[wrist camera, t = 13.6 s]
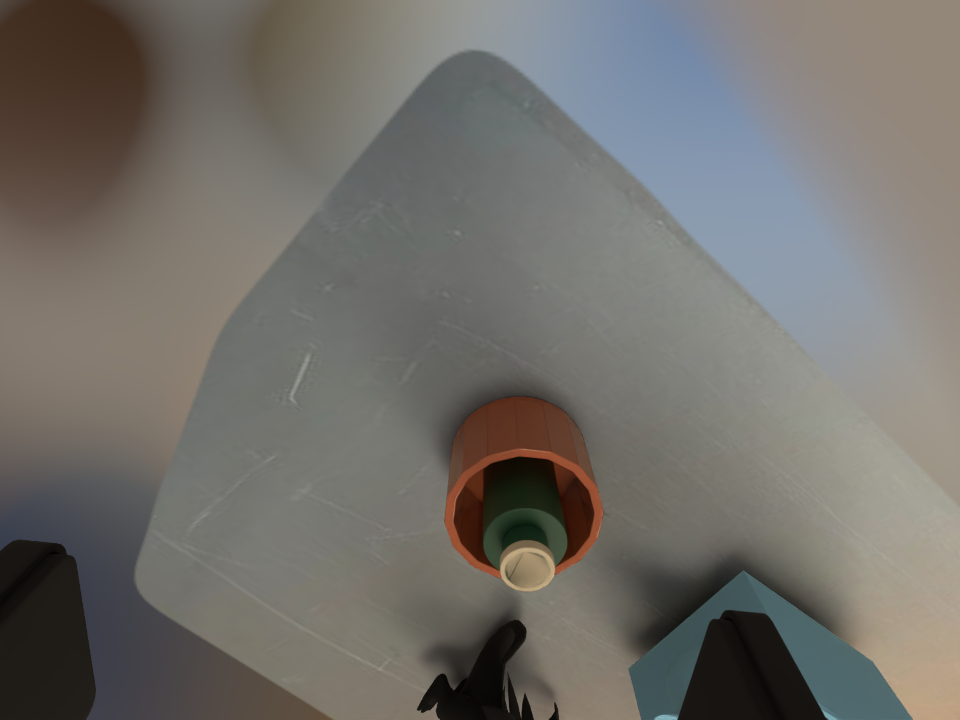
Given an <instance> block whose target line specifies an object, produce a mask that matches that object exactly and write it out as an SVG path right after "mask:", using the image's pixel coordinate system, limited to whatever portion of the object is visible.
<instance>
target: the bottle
mask: <svg viewBox="0 0 960 720" xmlns="http://www.w3.org/2000/svg"><path fill="white" fill-rule="evenodd" d="M567 543H568V541H567V533H566V528H565V523H564V517H563V512H562V506H561V501H560V496H559V490H558V485H557V480H556V474H555V469H554V463H553V461H551V460H549V459H541V458H531V457H522V456H518V457H514V458H510V459H506V460H502V461H498V462H493V463H491V464H489V465H488V466H486V467H485V468H483V549H484V552H485V555H486V557H487V558H488V560H489V561H490V562H491V564H492V565H493V566H494V567H496V568H497V569H498V570H500V574H501V577H502V579H503V580H504V582H505V583H506V584H507V585H508V586H510V587H512V588H513V589H516V590H519V591H535V590H538V589H541V588H543V587H544V586H546V585H547V584H548V583H549V582H550V581H551V579H552V578H553V576H554V573H555V566H556V565H557V564H558V563H559V562H560V561H561V559H562V558H563V556H564V554H565V552H566V549H567Z"/></svg>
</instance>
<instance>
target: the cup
mask: <svg viewBox="0 0 960 720" xmlns="http://www.w3.org/2000/svg"><path fill="white" fill-rule="evenodd" d="M518 456H522V457H531V458H541V459H549V460H551V461H553V463H554V469H555V474H556V480H557V485H558V490H559V496H560V501H561V506H562V512H563V517H564V523H565V528H566V533H567V541H568V543H567V549H566V552H565V554H564V556H563V558H562V559H561V561H560V562H559V563H558V564H557V565H556V566H555V573H554V575H556V574H558V573H560V572H562V571H563V570H565V569H567V568H568V567H570V566H572V565H573V564H575V563H577V562H578V561H580V560H581V559H582V558H583V557H584V555H585V554H586V553H587V552H588V550H589V549H590V548H591V546H592V545H593V544H594V542H595V541H596V540H597V538H598V535H599V531H600V526H601V522H602V518H603V508H602V504H601V500H600V496H599V492H598V488H597V484H596V481H595V477H594V474H593V470H592V467H591V463H590V460H589V457H588V453H587V450H586V446H585V443H584V439H583V436H582V434H581V433H580V431H579V429H578V427H577V425H576V424H575V423H574V421H573V420H572V419H571V418H570V417H569V416H568V415H567V414H566V413H565V412H564V411H562V410H561V409H560V408H558V407H556V406H555V405H553V404H551V403H548V402H546V401H543V400H540V399H536V398H531V397H508V398H503V399H499V400H496V401H492V402H490V403H488V404H486V405H484V406H482V407H480V408H479V409H477V410H476V411H475V412H473V413H472V414H471V415H470V416H469V417H468V418H467V419H466V420H465V421H464V422H463V424H462V425H461V426H460V428H459V430H458V432H457V434H456V436H455V439H454V441H453V444H452V452H451V461H450V470H449V480H448V490H447V500H446V510H445V519H444V522H445V526H446V528H447V531H448V534H449V536H450V539H451V542H452V545H453V546H454V548H455V549H456V550H457V551H458V552H459V553H460V554H461V555H462V556H463V557H464V558H465V559H466V560H467V561H468V562H469V563H470V564H471V565H472V566H473V567H475V568H478V569H480V570H482V571H484V572H486V573H489V574H491V575H493V576H495V577H497V578H498V577H499V578H502V577H501V574H500V570H498V569H497V568H496V567H494V566H493V565H492V564H491V562H490V561H489V560H488V558H487V557H486V555H485V552H484V549H483V468H485V467H486V466H488V465H489V464H491V463H493V462H498V461H502V460H506V459H510V458H514V457H518Z"/></svg>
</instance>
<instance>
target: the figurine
mask: <svg viewBox="0 0 960 720" xmlns="http://www.w3.org/2000/svg"><path fill="white" fill-rule="evenodd" d="M525 638H526V628H525V626H524V625H523V624H522V622H520V621H519V620H513V621H511V622H509V623H507V624H506V625H504V626H502V627H501V628H500V629H499V630H498V631H497V632H496V633H495V634H494V635H493V636H492V637H491V638H490V639H489V641H488V642H487V643H486V644H485V646H484V648H483V649H482V651H481V653H480V654H479V656H478V658H477V660H476V663H475V665H474V667H473V669H472V671H471V673H470V675H469V677H468V678H466V679H464V680H462V681H461V682H460V684H459V685H458V686H457V688H456V689H455V690H453V689H452V688H451V687H450V685H449V683H448V680H447V677H446V675H445V674H440V675H438V676H437V677H436V679H435V680H434V682H433V683H432V685H431V686H430V688H429V689H428V690H427V692H426V693H425V695H424V697H423V699H422V700H421V702H420V704H419V706H418V708H417V711H420V710H421V709H422V710H421V713H424V712H425V711H427V710H431V709H432V708H433V707H434V705H435V704H436V703H437V702H438V704H437V709H436V714H437V716H438V718H439V719H440V720H521V716H520V712H519V707H518V703H517V700H516V696H515V692H514V689H513V686H512V683H511V680H510V677H509V674H508V671H507V674H508V696H509V710H510V713H509V712H508V710H507V706H506V701H505V686H504V690H503V680H504V671H505V664H506V663H507V661H508V660H509V659H510V658H511V657H512V656H513V655H514V654H515V652H516V651H517V650H518V649H519V648H520V646H521V645H522V644H523V642H524V641H525ZM554 707H555V712H554V713H553V715H552V716H551V718H550V719H549V720H559V716H558V708H557V705H556V703H554ZM522 720H534V719H533V715H532V711H531V707H530V705H529V702H528V699H527V697H526V694H524V698H523V703H522Z"/></svg>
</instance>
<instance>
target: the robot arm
mask: <svg viewBox="0 0 960 720" xmlns="http://www.w3.org/2000/svg"><path fill="white" fill-rule="evenodd" d="M95 693H96V688H95V680H94V674H93V667H92V661H91V655H90V649H89V642H88V636H87V629H86V622H85V616H84V610H83V603H82V597H81V591H80V584H79V577H78V571H77V564H76V561H75V558H74V557H73V556H70V555H67V553H66V550H65V548H64V547H63V546H62V545H61V544H57V543H47V542H38V541H28V540H16V541H13V542H11V543H9V544H8V545H7V546H5V547H4V548H3V549H2V550H1V551H0V720H86V718H87V717H88V715H89V713H90V711H91V708H92V706H93V703H94V699H95ZM677 720H829V719H827V718H826V717H825V715H824V713H823V712H822V710H821V708H820V706H819V704H818V702H817V701H816V699H815V697H814V695H813V693H812V692H811V690H810V688H809V686H808V684H807V683H806V681H805V679H804V677H803V675H802V674H801V672H800V670H799V668H798V666H797V664H796V663H795V661H794V659H793V657H792V655H791V654H790V652H789V650H788V648H787V646H786V645H785V643H784V641H783V639H782V637H781V636H780V634H779V632H778V630H777V628H776V627H775V625H774V623H773V621H772V620H771V619H770V617H769V616H768V615H766V614H765V613H756V612H746V611H736V610H725V611H724V612H723V613H722V615H721V617H720V619H712V620H711V621H710V623H709V625H708V628H707V631H706V634H705V637H704V640H703V643H702V646H701V649H700V652H699V655H698V658H697V661H696V664H695V667H694V670H693V674H692V677H691V680H690V683H689V686H688V689H687V692H686V695H685V698H684V701H683V704H682V707H681V710H680V713H679V716H678V719H677Z"/></svg>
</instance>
